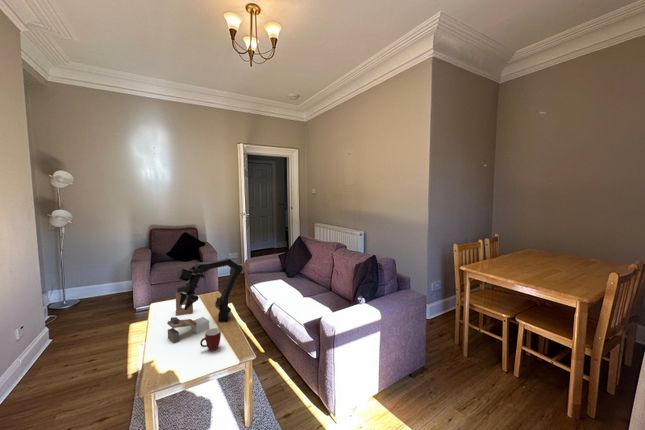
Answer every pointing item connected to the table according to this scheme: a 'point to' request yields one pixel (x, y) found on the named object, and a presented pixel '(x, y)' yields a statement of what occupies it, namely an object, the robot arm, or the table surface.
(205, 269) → the robot arm
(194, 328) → the gray rectangular block
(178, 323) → the plank
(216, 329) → the mug
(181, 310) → the wooden block
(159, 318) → the table surface
